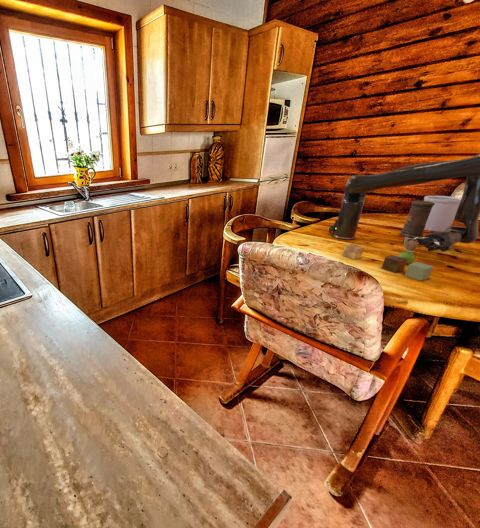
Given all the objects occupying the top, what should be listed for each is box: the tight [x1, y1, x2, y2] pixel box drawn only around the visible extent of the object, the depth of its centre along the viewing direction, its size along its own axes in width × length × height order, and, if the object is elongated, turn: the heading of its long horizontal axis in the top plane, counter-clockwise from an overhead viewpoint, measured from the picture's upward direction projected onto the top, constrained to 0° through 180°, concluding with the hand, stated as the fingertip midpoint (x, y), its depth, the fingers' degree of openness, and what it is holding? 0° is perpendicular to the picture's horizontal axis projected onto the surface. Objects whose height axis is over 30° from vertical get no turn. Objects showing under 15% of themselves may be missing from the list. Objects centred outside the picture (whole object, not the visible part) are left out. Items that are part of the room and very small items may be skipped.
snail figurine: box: [397, 234, 418, 265], centre depth 117 cm, size 5×6×12 cm
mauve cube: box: [342, 243, 365, 260], centre depth 127 cm, size 5×5×5 cm
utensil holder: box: [423, 195, 462, 232], centre depth 155 cm, size 15×15×18 cm
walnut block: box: [381, 254, 408, 274], centre depth 113 cm, size 5×5×5 cm
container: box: [399, 200, 435, 237], centre depth 147 cm, size 9×9×18 cm
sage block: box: [404, 261, 434, 282], centre depth 106 cm, size 5×5×5 cm
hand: (416, 245), depth 118 cm, fingers open, 8 cm apart
